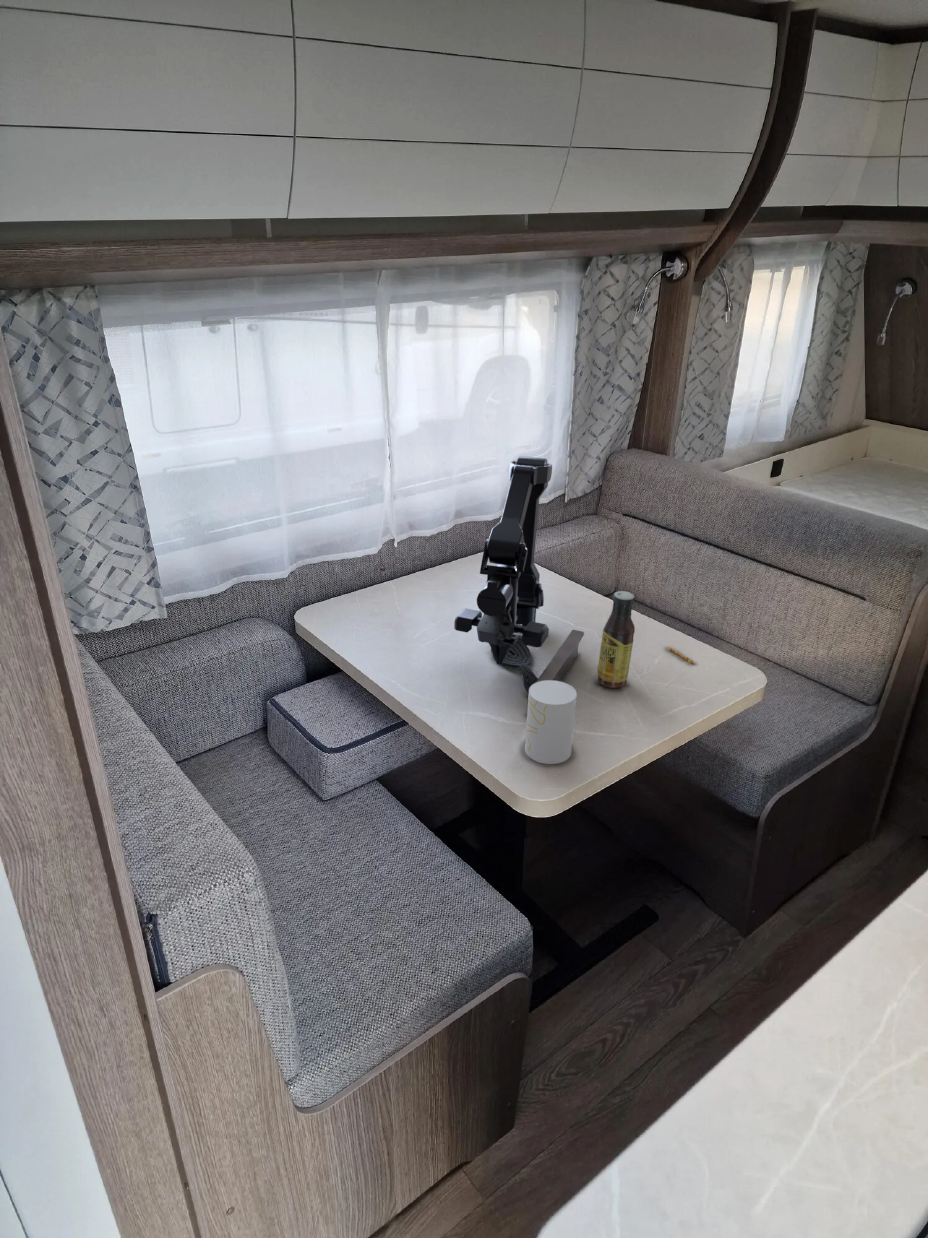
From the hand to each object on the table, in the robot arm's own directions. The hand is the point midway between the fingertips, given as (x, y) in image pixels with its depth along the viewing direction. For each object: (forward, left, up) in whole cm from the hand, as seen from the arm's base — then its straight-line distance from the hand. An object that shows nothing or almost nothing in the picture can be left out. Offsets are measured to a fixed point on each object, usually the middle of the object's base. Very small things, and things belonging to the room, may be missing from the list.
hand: (499, 663), depth 170 cm
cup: (+14, +27, -2) cm, 30 cm away
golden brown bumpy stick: (-35, +21, -2) cm, 41 cm away
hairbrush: (-4, +2, -2) cm, 5 cm away
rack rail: (-5, +11, -2) cm, 12 cm away
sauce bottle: (-14, +19, -2) cm, 23 cm away
